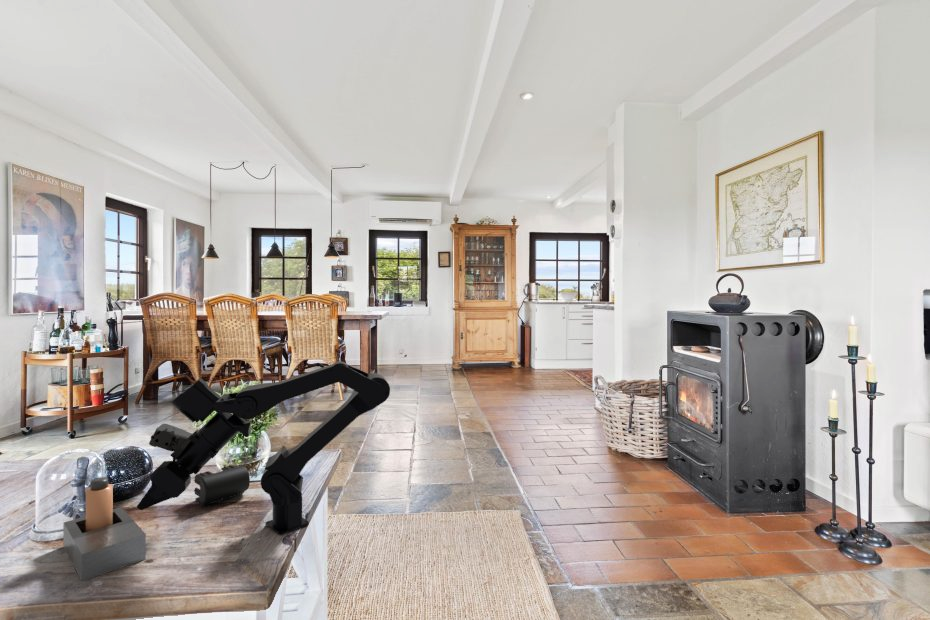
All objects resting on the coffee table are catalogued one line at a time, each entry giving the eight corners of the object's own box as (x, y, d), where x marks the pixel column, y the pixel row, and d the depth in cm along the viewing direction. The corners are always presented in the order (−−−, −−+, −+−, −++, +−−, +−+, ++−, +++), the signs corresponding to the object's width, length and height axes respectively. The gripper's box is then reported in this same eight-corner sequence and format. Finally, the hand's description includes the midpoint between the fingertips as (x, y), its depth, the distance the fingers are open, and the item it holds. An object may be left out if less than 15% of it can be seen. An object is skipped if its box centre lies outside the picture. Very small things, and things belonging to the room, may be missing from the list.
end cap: (205, 510, 103) (206, 480, 103) (192, 501, 108) (192, 472, 107) (250, 496, 111) (250, 468, 111) (235, 488, 115) (236, 461, 115)
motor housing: (145, 559, 84) (145, 534, 84) (81, 581, 77) (81, 554, 77) (121, 529, 94) (121, 507, 94) (63, 546, 87) (63, 522, 87)
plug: (117, 543, 89) (117, 478, 89) (93, 553, 85) (93, 485, 85) (104, 538, 90) (104, 474, 90) (80, 548, 87) (80, 481, 87)
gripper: (193, 400, 100) (133, 455, 97) (163, 423, 82) (89, 491, 79) (233, 434, 102) (176, 489, 100) (212, 463, 84) (142, 531, 82)
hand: (148, 498), depth 90 cm, fingers open, 9 cm apart
